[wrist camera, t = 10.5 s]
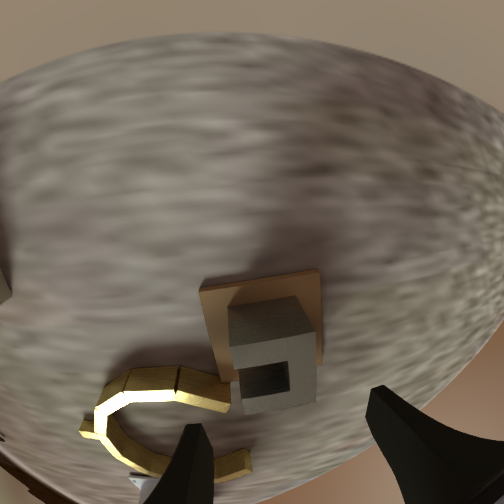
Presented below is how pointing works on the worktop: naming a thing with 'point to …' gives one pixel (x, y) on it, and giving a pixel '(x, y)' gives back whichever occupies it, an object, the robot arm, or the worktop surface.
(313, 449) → the worktop surface
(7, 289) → the lighter
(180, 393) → the c ring
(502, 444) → the robot arm
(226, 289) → the coaster
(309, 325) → the c link
